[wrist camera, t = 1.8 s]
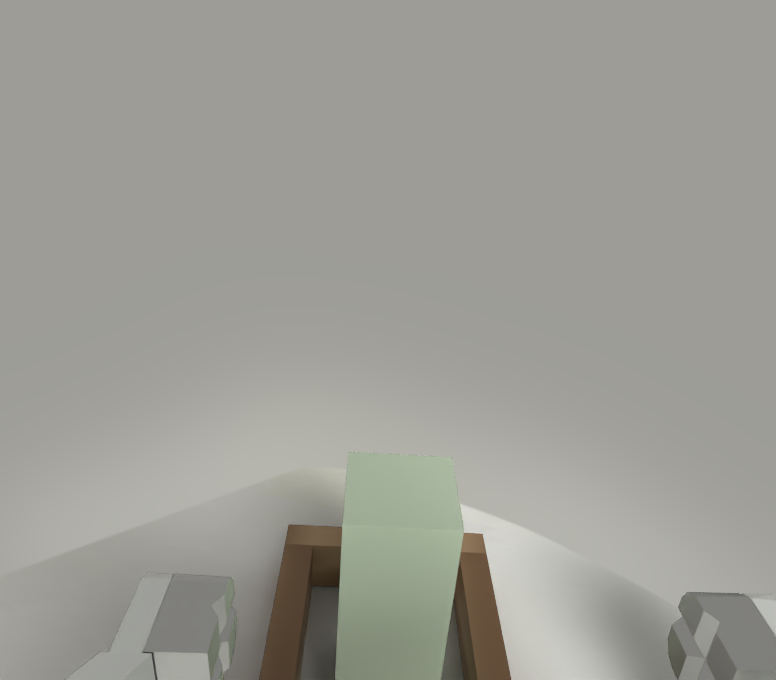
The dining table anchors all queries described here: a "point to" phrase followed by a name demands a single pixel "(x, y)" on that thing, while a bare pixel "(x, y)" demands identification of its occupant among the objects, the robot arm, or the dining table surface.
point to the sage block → (397, 566)
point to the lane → (322, 568)
